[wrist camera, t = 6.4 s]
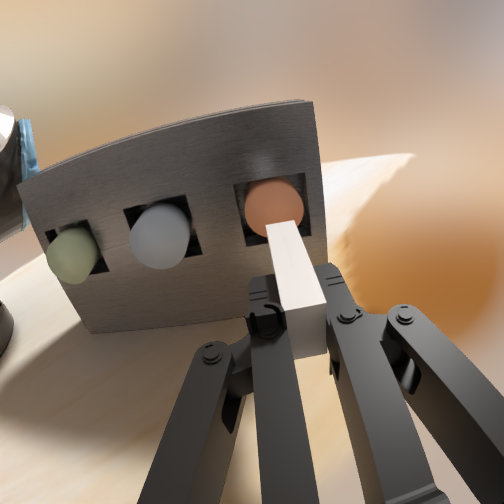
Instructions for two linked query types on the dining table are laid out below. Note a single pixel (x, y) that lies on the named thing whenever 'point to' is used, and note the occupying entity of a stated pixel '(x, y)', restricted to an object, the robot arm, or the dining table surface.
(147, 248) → the grey dome button
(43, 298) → the dining table surface
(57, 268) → the sage button
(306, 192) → the button panel
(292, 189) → the terracotta button
